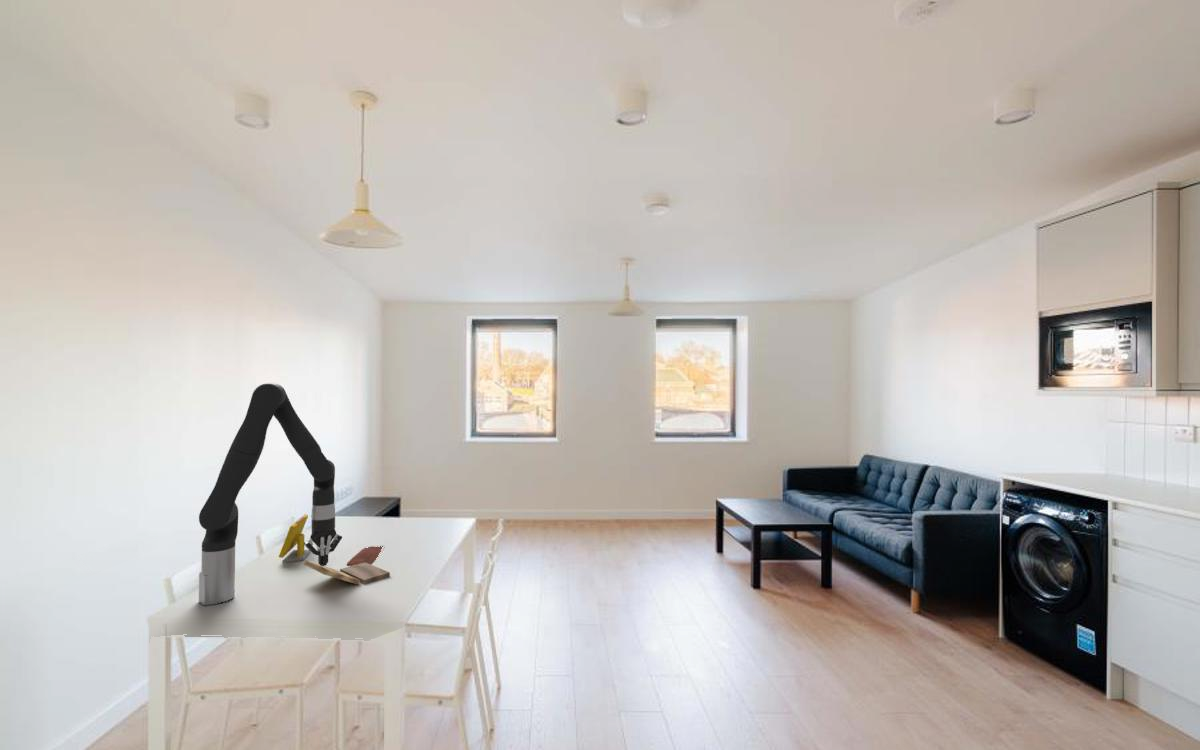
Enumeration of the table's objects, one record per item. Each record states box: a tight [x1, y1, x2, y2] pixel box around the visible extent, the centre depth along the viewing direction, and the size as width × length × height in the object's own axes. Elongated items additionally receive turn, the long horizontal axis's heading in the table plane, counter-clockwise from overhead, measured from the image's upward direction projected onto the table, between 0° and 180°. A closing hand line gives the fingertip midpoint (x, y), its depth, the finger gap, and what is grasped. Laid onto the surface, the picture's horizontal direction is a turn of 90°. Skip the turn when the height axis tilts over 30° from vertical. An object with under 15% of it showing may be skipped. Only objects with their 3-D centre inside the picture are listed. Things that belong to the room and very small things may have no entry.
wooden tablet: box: [346, 545, 384, 567], centre depth 227 cm, size 27×10×2 cm, turn 8°
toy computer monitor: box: [278, 514, 312, 563], centre depth 224 cm, size 20×8×16 cm, turn 14°
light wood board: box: [303, 560, 361, 585], centre depth 194 cm, size 14×16×2 cm
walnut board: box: [339, 562, 391, 585], centre depth 203 cm, size 10×18×2 cm, turn 51°
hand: (323, 565), depth 191 cm, fingers closed
